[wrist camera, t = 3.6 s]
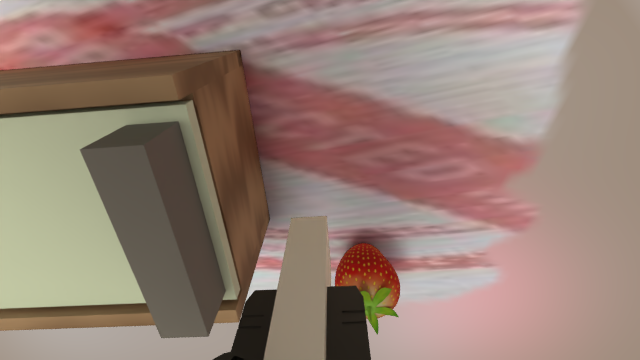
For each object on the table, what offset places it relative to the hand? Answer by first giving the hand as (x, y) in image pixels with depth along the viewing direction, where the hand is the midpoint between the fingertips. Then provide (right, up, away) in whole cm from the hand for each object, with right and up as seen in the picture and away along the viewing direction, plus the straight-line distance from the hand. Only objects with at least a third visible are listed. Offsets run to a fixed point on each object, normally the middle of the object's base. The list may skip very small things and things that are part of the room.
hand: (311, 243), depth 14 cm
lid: (-14, +1, +4) cm, 14 cm away
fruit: (+4, -4, +16) cm, 17 cm away
